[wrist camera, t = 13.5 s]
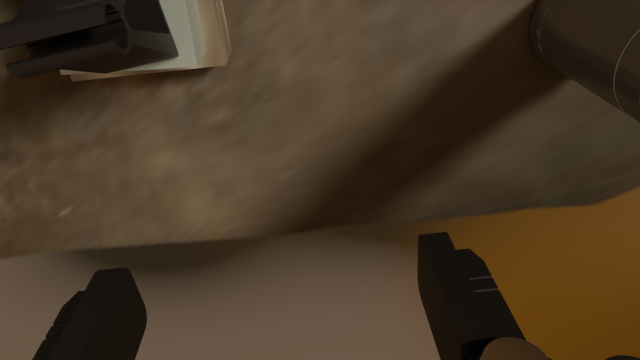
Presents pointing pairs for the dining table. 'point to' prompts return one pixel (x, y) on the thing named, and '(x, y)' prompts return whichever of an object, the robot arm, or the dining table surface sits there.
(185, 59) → the tower top
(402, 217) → the dining table surface
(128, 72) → the tower base
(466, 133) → the dining table surface
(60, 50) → the phone stand
